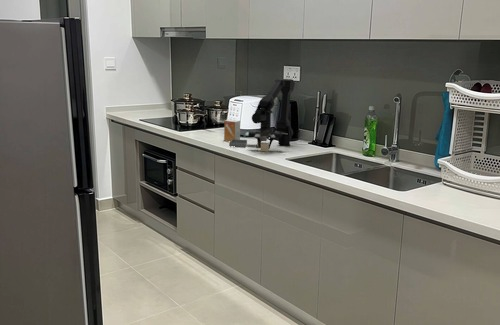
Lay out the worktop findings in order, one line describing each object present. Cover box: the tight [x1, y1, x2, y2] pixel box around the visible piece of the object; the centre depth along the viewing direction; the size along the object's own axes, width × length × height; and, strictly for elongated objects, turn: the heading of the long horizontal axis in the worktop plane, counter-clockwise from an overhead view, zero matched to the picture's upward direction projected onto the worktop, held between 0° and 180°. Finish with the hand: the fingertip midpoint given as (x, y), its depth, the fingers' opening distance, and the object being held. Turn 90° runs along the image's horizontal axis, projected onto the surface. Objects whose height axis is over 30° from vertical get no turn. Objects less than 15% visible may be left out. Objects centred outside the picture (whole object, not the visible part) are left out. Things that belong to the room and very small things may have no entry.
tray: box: [228, 139, 248, 148], centre depth 288 cm, size 9×12×2 cm
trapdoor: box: [244, 131, 268, 142], centre depth 287 cm, size 12×9×4 cm
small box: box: [223, 119, 241, 142], centre depth 300 cm, size 8×6×13 cm
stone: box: [260, 141, 270, 152], centre depth 274 cm, size 5×5×4 cm
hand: (264, 148), depth 275 cm, fingers closed on stone, 5 cm apart
